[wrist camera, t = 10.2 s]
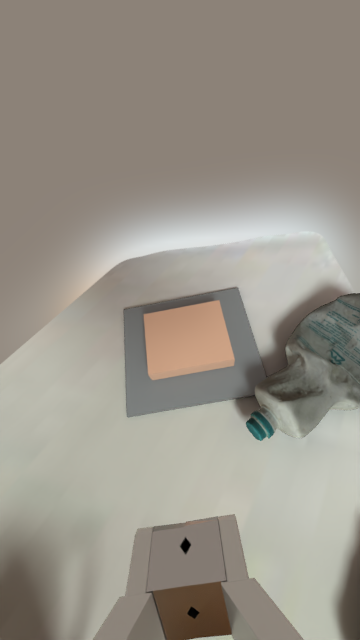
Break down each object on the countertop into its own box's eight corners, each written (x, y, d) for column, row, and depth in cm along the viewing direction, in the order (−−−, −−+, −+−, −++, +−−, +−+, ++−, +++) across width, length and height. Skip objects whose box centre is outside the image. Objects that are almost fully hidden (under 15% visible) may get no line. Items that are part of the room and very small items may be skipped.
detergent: (336, 297, 42) (213, 390, 37) (360, 269, 36) (215, 375, 31) (413, 360, 37) (282, 480, 32) (457, 340, 31) (302, 485, 25)
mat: (128, 417, 37) (126, 416, 37) (124, 311, 47) (123, 309, 46) (270, 392, 36) (271, 391, 36) (237, 289, 46) (237, 287, 45)
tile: (148, 374, 36) (143, 314, 42) (152, 380, 39) (147, 322, 44) (234, 359, 36) (219, 300, 41) (234, 366, 38) (219, 309, 44)
